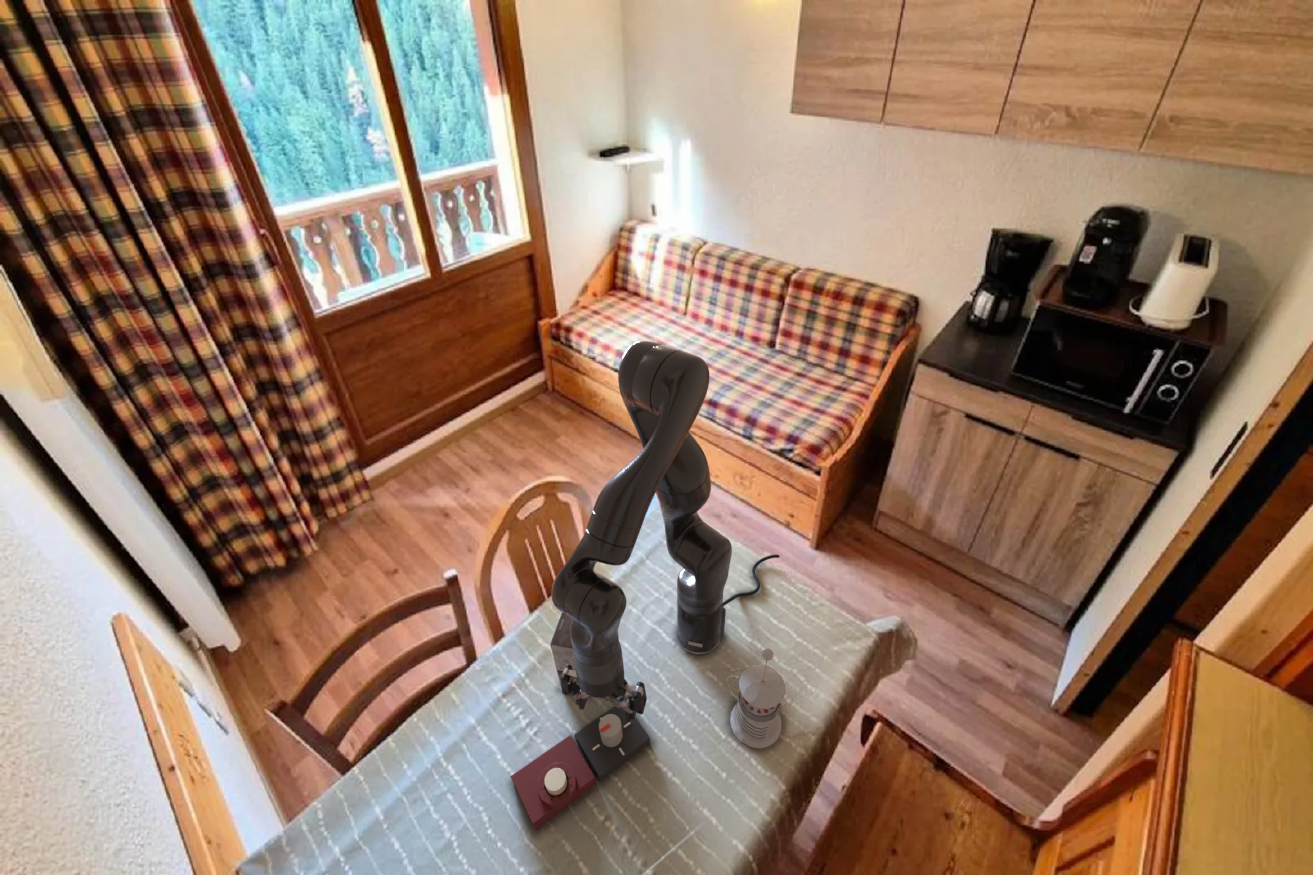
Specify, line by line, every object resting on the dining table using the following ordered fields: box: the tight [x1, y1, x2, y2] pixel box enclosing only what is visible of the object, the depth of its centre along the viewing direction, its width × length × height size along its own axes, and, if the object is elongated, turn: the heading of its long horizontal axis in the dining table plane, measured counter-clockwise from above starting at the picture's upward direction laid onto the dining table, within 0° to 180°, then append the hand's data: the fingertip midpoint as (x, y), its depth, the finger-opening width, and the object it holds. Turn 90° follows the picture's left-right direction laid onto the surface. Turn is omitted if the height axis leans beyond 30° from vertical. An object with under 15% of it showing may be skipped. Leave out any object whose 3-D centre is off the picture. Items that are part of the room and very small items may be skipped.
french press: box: [726, 648, 786, 749], centre depth 102 cm, size 10×12×25 cm
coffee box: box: [549, 612, 578, 686], centre depth 114 cm, size 9×6×16 cm
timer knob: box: [599, 714, 623, 747], centre depth 104 cm, size 4×4×5 cm
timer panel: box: [573, 705, 651, 782], centre depth 107 cm, size 11×9×3 cm
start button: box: [545, 768, 567, 795], centre depth 97 cm, size 4×4×2 cm
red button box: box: [510, 734, 598, 831], centre depth 101 cm, size 12×10×5 cm
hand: (606, 710), depth 100 cm, fingers open, 8 cm apart
